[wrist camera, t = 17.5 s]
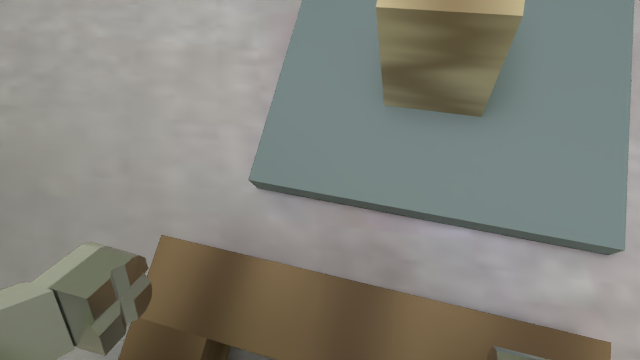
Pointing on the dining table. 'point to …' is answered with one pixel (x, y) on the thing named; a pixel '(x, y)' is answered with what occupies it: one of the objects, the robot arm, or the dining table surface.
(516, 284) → the dining table surface
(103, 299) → the robot arm
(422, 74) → the maple peg
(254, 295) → the pocket block
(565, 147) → the slate pad
